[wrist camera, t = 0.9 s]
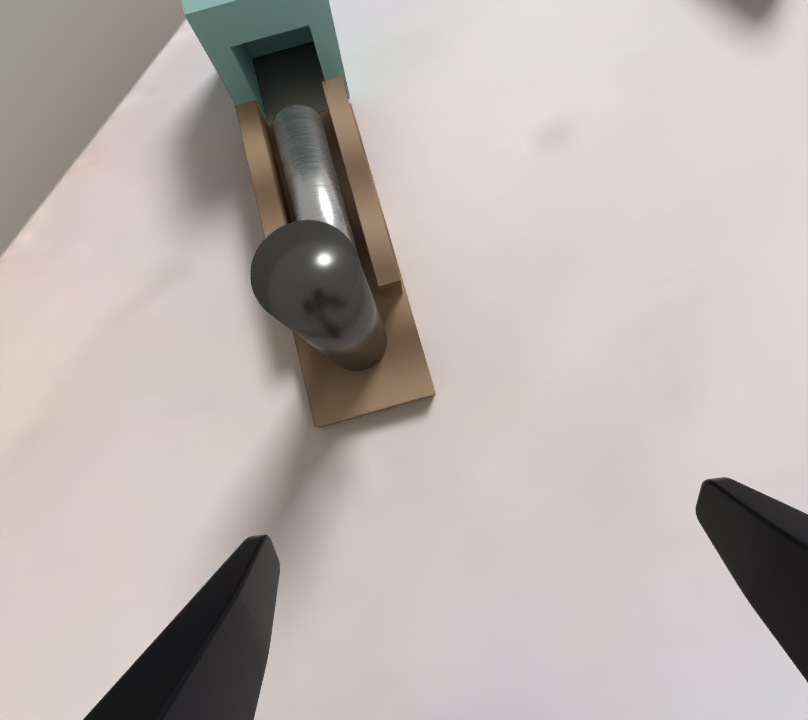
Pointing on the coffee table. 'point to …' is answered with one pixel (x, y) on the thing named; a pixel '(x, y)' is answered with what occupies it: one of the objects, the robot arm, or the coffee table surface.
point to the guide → (403, 358)
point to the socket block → (261, 37)
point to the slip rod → (317, 254)
